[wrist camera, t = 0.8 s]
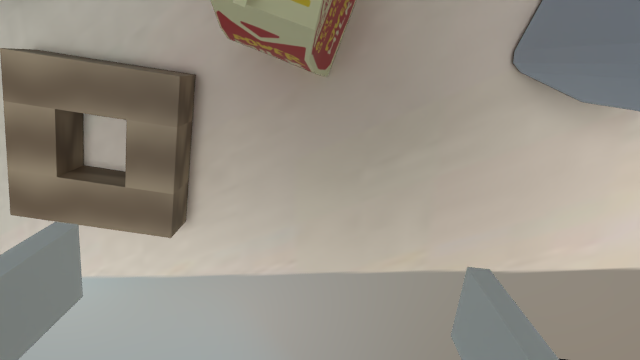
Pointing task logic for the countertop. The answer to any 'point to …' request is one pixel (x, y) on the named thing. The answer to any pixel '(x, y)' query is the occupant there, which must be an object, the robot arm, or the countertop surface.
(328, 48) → the milk carton
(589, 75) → the soap bottle
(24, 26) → the countertop surface
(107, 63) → the socket block
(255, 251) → the countertop surface
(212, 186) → the countertop surface
